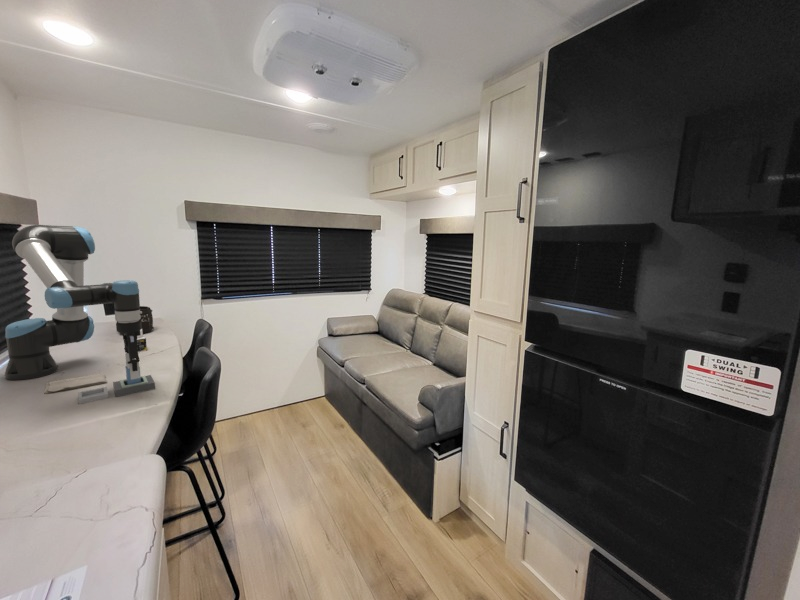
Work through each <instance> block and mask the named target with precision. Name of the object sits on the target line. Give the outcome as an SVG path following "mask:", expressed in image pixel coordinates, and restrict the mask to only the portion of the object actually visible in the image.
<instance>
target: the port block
mask: <svg viewBox="0 0 800 600" xmlns="http://www.w3.org/2000/svg"><path fill="white" fill-rule="evenodd" d="M140 377H141V382H140V383H135V384H130V385H127V378H126V379H125V378H124V379H121V380H120V379H119V380H116V381H112V385H113V391H114V395H115V398H118V397H123V396H127V395H131V394H137V393H140V392H145V391H146V392H147V391H150V390H155V389H156V382H155V380H154V379H153V377H152V375H151V374H149V375H142V376H141V375H140Z"/></svg>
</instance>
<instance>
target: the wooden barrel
mask: <svg viewBox="0 0 800 600" xmlns="http://www.w3.org/2000/svg"><path fill="white" fill-rule="evenodd" d="M140 311H142V314H140V316H141V319H140V321H141V326H142V332H143V335H145V334H150V333H151V332H152V331H153V329H154V321H153V320H154V319H153V313H152V312H153V309H151V307H149V306H144V305H143V306H141V305H140ZM119 334H120V335H121V336H123V335H124V333H120V332H119Z"/></svg>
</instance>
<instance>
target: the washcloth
mask: <svg viewBox="0 0 800 600" xmlns="http://www.w3.org/2000/svg"><path fill="white" fill-rule="evenodd" d="M102 384H108V380H107V375H106V374H105V373H98V374H97V373H96V374H91V375H84V376H83V375H82V376H78V377H71V378H66V379H60V380H53V381H49V382H48V383H45V389H44V391H43V393H44V395H47V394H52V393H57V392H63V391H64V392H65V391H70V390H75V389H81V388H87V387H91V386H98V385H102Z"/></svg>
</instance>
